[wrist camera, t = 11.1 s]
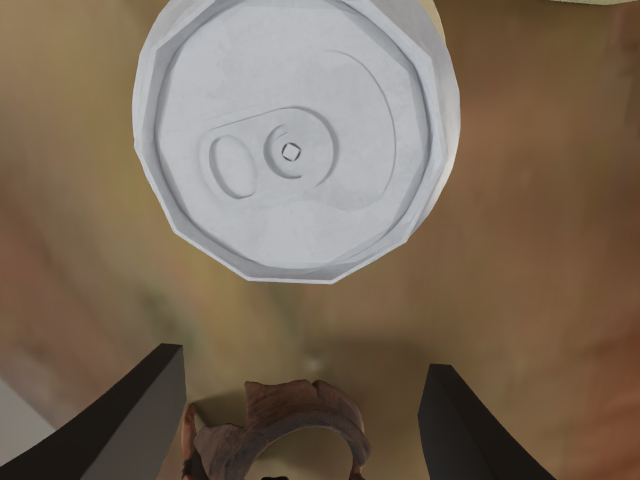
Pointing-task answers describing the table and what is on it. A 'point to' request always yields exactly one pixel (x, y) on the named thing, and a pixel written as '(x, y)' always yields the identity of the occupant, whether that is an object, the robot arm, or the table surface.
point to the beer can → (295, 130)
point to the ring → (597, 1)
